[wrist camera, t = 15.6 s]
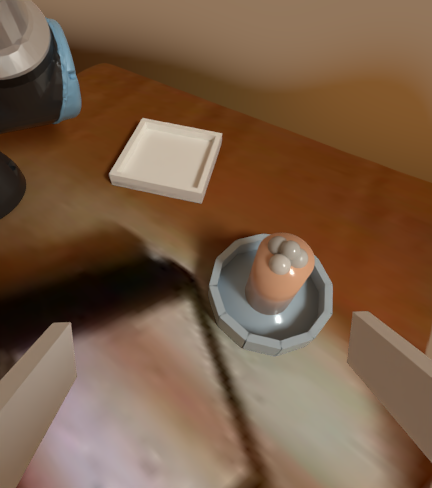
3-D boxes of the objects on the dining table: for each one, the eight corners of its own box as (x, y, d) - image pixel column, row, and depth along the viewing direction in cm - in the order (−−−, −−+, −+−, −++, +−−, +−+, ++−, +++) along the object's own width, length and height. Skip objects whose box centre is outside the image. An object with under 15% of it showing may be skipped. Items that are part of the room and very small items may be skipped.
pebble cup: (241, 309, 40) (256, 265, 30) (248, 268, 44) (265, 216, 34) (288, 320, 40) (320, 279, 30) (292, 277, 43) (322, 228, 33)
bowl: (197, 337, 39) (197, 329, 36) (223, 238, 48) (224, 225, 45) (321, 367, 38) (331, 361, 35) (324, 260, 46) (332, 248, 43)
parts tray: (112, 184, 52) (108, 174, 50) (144, 129, 61) (142, 118, 59) (201, 203, 51) (201, 193, 49) (221, 144, 60) (222, 133, 58)
